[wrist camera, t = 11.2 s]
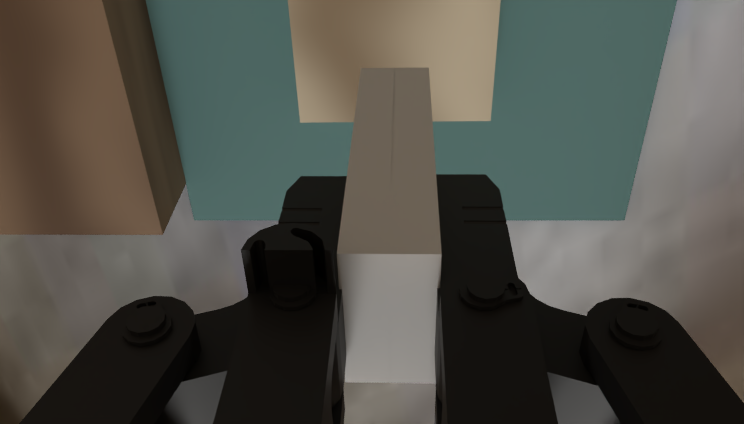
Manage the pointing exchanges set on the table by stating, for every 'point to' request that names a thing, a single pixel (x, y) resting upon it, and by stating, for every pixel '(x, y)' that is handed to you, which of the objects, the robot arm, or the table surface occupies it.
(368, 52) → the maple tile
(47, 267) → the table surface
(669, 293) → the table surface
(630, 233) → the table surface
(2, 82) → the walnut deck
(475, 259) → the robot arm
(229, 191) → the teal mat
